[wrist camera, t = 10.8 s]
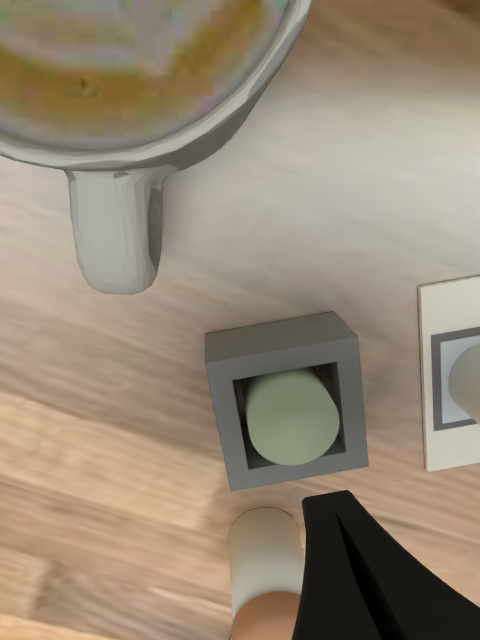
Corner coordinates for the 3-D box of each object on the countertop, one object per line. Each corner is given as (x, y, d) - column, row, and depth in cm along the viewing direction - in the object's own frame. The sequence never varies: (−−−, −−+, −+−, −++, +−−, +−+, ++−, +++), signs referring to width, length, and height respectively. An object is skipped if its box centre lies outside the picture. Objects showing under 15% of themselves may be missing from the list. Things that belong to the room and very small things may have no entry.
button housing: (344, 424, 23) (368, 466, 19) (226, 445, 23) (230, 491, 19) (333, 311, 21) (357, 336, 18) (205, 333, 21) (205, 363, 17)
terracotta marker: (302, 560, 25) (335, 696, 18) (232, 570, 25) (240, 712, 18) (295, 501, 24) (328, 624, 17) (222, 512, 24) (227, 640, 17)
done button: (322, 414, 22) (343, 456, 18) (248, 427, 22) (256, 472, 18) (314, 344, 21) (335, 376, 17) (236, 358, 21) (242, 393, 17)
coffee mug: (10, -168, 15) (-326, -763, 6) (296, -79, 16) (420, -439, 7) (-13, 230, 19) (-238, 284, 9) (222, 276, 20) (236, 365, 11)
